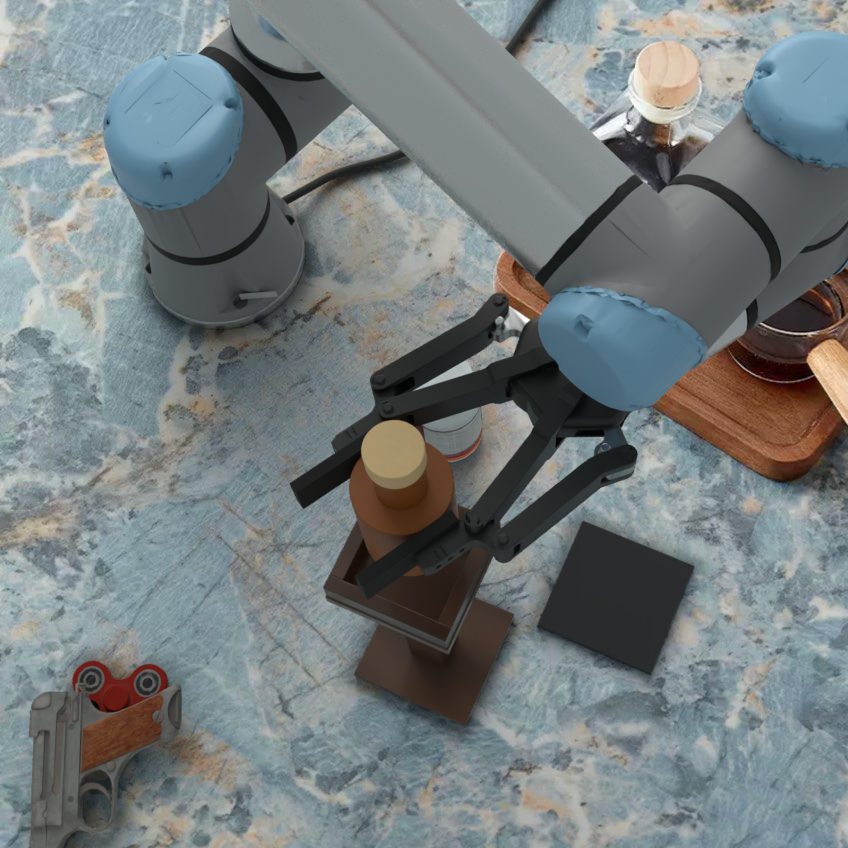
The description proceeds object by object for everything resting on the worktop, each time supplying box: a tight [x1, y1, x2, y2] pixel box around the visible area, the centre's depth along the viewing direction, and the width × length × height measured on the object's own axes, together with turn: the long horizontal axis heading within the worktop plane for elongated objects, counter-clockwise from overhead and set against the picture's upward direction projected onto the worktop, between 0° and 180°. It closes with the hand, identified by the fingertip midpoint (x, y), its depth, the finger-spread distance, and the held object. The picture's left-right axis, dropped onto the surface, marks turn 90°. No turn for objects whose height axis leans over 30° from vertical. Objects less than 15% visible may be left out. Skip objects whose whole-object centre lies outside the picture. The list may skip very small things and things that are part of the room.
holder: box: [322, 503, 515, 728], centre depth 97 cm, size 10×10×25 cm
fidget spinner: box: [71, 660, 169, 713], centre depth 108 cm, size 8×7×1 cm
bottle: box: [348, 420, 459, 576], centre depth 75 cm, size 6×6×13 cm
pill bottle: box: [413, 360, 483, 463], centre depth 111 cm, size 6×6×11 cm
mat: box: [536, 520, 695, 676], centre depth 109 cm, size 10×10×1 cm
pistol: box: [28, 683, 183, 848], centre depth 104 cm, size 19×2×12 cm
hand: (328, 541), depth 74 cm, fingers closed on bottle, 6 cm apart
